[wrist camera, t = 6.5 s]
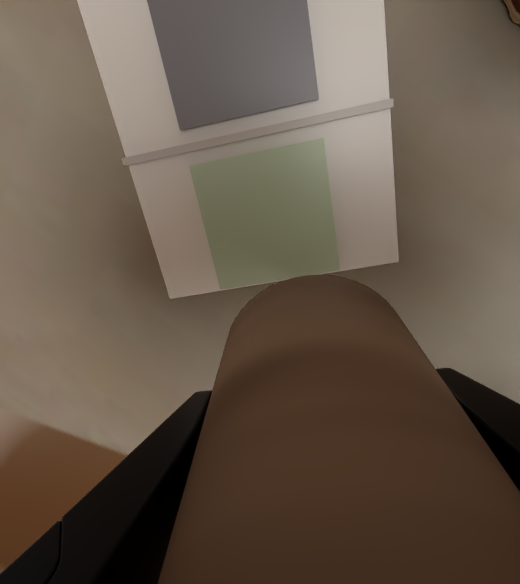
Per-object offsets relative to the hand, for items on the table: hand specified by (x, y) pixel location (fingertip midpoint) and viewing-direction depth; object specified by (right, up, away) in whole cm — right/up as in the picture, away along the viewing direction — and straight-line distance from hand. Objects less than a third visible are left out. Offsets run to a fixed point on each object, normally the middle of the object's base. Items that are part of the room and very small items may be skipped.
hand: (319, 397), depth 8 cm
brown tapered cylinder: (0, +1, +1) cm, 1 cm away
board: (-2, +9, +8) cm, 12 cm away
